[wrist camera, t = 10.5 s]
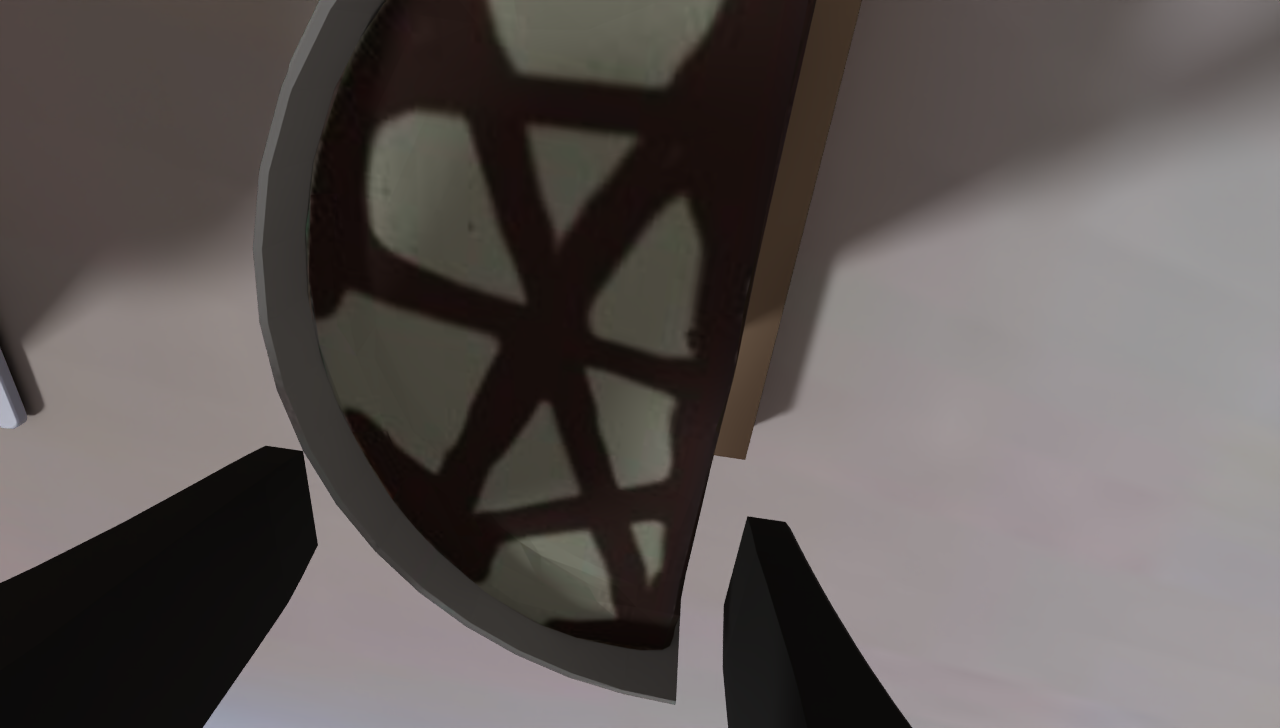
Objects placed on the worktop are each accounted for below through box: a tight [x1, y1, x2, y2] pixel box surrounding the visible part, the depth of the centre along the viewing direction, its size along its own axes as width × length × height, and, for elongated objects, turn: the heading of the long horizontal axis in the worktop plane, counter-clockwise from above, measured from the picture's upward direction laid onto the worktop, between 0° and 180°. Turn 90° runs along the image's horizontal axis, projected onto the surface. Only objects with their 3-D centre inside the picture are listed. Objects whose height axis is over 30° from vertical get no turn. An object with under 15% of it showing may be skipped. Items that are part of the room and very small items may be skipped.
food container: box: [253, 0, 816, 705], centre depth 12 cm, size 12×6×10 cm, turn 173°
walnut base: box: [714, 0, 862, 460], centre depth 17 cm, size 10×16×2 cm, turn 173°
